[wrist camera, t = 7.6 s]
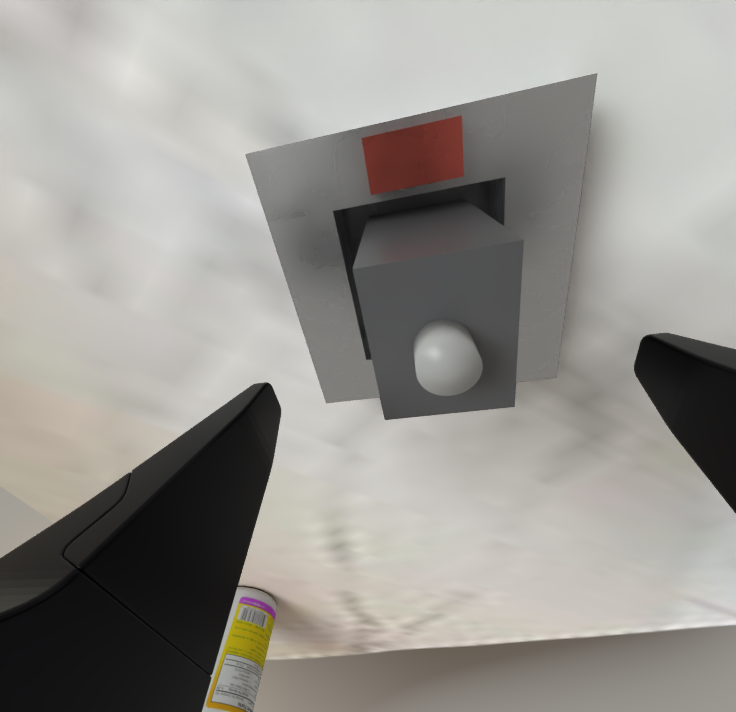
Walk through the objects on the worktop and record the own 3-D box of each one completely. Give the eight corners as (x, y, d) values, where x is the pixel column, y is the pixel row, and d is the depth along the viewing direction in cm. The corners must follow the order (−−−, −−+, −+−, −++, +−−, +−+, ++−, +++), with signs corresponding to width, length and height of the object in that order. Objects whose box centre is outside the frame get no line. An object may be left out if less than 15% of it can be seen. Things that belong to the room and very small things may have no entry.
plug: (464, 198, 13) (544, 254, 7) (468, 311, 16) (528, 435, 9) (368, 217, 14) (347, 286, 7) (386, 322, 17) (384, 448, 10)
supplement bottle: (226, 611, 37) (159, 802, 26) (207, 582, 34) (121, 789, 23) (284, 613, 37) (240, 809, 26) (271, 584, 33) (214, 797, 22)
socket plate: (559, 86, 12) (612, 67, 9) (536, 349, 17) (564, 388, 15) (268, 153, 13) (236, 154, 11) (333, 374, 19) (323, 414, 16)
